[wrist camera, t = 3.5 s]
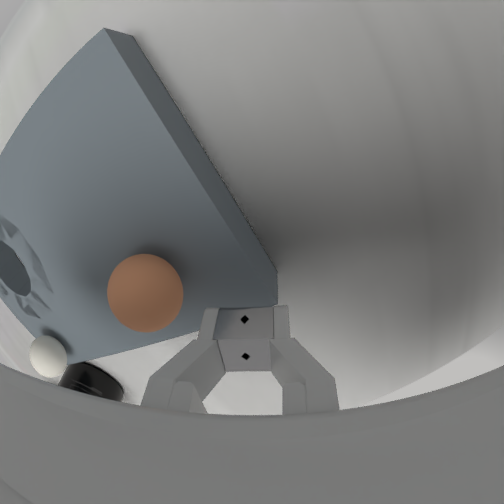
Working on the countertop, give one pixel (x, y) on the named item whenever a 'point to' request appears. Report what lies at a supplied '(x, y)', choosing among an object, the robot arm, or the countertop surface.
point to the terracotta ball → (145, 293)
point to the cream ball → (48, 356)
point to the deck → (116, 206)
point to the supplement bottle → (90, 382)
